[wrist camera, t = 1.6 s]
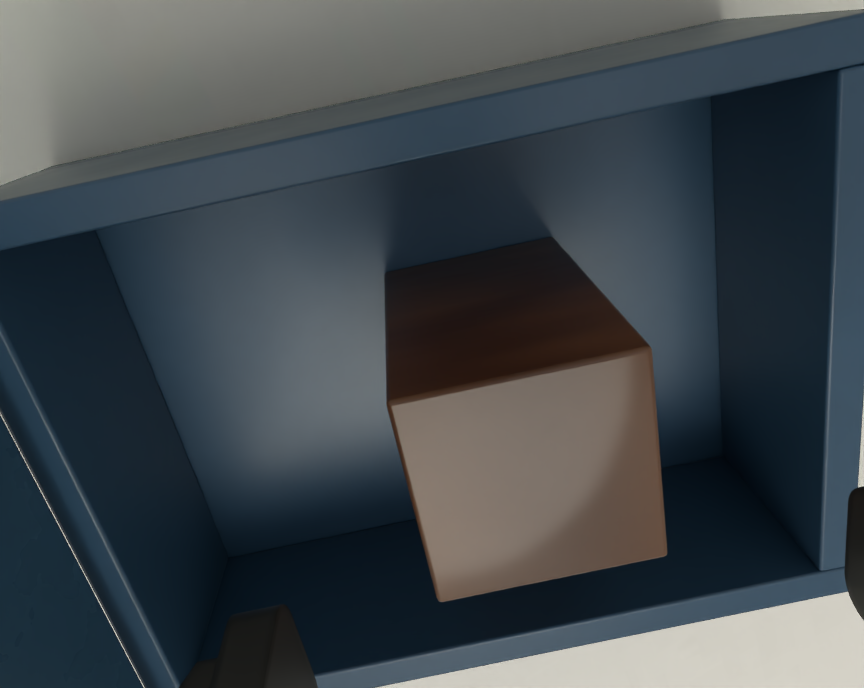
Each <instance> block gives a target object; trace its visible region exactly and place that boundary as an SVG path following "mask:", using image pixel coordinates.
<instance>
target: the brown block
mask: <svg viewBox="0 0 864 688" xmlns="http://www.w3.org/2000/svg"><path fill="white" fill-rule="evenodd" d="M384 286H385V352H386V406H387V410H388V413H389V417H390V421H391V425H392V429H393V433H394V437H395V440H396V444H397V448H398V452H399V456H400V460H401V463H402V467H403V471H404V475H405V479H406V483H407V487H408V490H409V494H410V498H411V502H412V506H413V510H414V513H415V517H416V521H417V525H418V529H419V533H420V536H421V540H422V544H423V548H424V552H425V556H426V560H427V563H428V567H429V571H430V575H431V579H432V583H433V586H434V590H435V594H436V598H437V599H438V601H439V602H445V601H450V600H455V599H460V598H465V597H469V596H474V595H479V594H484V593H489V592H494V591H499V590H504V589H508V588H513V587H518V586H523V585H528V584H533V583H538V582H543V581H547V580H552V579H557V578H562V577H567V576H572V575H577V574H582V573H586V572H591V571H596V570H601V569H606V568H611V567H616V566H621V565H625V564H630V563H635V562H640V561H645V560H650V559H655V558H660V557H664V556H666V555H667V538H666V525H665V512H664V499H663V486H662V473H661V460H660V447H659V434H658V421H657V408H656V395H655V382H654V369H653V356H652V348H651V347H650V345H649V344H648V343H647V342H646V341H645V340H644V338H643V337H642V336H641V335H640V334H639V333H638V332H637V331H636V329H635V328H634V327H633V326H632V325H631V324H630V323H629V322H628V321H627V319H626V318H625V317H624V316H623V315H622V314H621V313H620V312H619V310H618V309H617V308H616V307H615V306H614V305H613V304H612V303H611V301H610V300H609V299H608V298H607V297H606V296H605V295H604V294H603V293H602V291H601V290H600V289H599V288H598V287H597V286H596V285H595V284H594V282H593V281H592V280H591V279H590V278H589V277H588V276H587V275H586V273H585V272H584V271H583V270H582V269H581V268H580V267H579V266H578V265H577V263H576V262H575V261H574V260H573V259H572V258H571V257H570V256H569V254H568V253H567V252H566V251H565V250H564V249H563V248H562V247H561V246H560V244H559V243H558V242H557V241H556V240H555V239H554V238H553V237H549V238H544V239H540V240H535V241H530V242H526V243H521V244H516V245H512V246H507V247H502V248H498V249H493V250H488V251H484V252H479V253H474V254H470V255H465V256H460V257H456V258H451V259H446V260H441V261H437V262H432V263H427V264H423V265H418V266H413V267H409V268H404V269H399V270H395V271H390V272H387V273H385V276H384Z"/></svg>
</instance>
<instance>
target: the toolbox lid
mask: <svg viewBox="0 0 864 688" xmlns="http://www.w3.org/2000/svg"><path fill="white" fill-rule="evenodd" d="M0 688H143V686H142V684H141V682H140V680H139V678H138V676H137V675H136V673H135V671H134V669H133V667H132V665H131V663H130V661H129V659H128V657H127V656H126V654H125V652H124V650H123V648H122V646H121V644H120V642H119V640H118V638H117V637H116V635H115V633H114V631H113V629H112V627H111V625H110V623H109V621H108V619H107V618H106V616H105V614H104V612H103V610H102V608H101V606H100V604H99V602H98V600H97V598H96V597H95V595H94V593H93V591H92V589H91V587H90V585H89V583H88V581H87V579H86V578H85V576H84V574H83V572H82V570H81V568H80V566H79V564H78V562H77V560H76V559H75V557H74V555H73V553H72V551H71V549H70V547H69V545H68V543H67V541H66V540H65V538H64V536H63V534H62V532H61V530H60V528H59V526H58V524H57V522H56V521H55V519H54V517H53V515H52V513H51V511H50V509H49V507H48V505H47V503H46V501H45V500H44V498H43V496H42V494H41V492H40V490H39V488H38V486H37V484H36V482H35V481H34V479H33V477H32V475H31V473H30V471H29V469H28V467H27V465H26V463H25V462H24V460H23V458H22V456H21V454H20V452H19V450H18V448H17V446H16V444H15V443H14V441H13V439H12V437H11V435H10V433H9V431H8V429H7V427H6V425H5V423H4V422H3V420H2V418H1V416H0Z"/></svg>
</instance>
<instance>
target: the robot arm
mask: <svg viewBox="0 0 864 688" xmlns="http://www.w3.org/2000/svg"><path fill="white" fill-rule="evenodd" d="M844 572H845V581H846V586H847V589H848V592H849V595H850V598H851V600H852V602H853V604H854V606H855V608H856V610H857V611H858V613H859V614H860V616H861V617H862V619H863V620H864V487H859V488H855V489H854V490H852V491H851V493H850V495H849V498H848V511H847V530H846V550H845V569H844ZM179 688H318V686H317V682H316V679H315V676H314V673H313V670H312V668H311V665H310V662H309V660H308V657H307V654H306V652H305V649H304V646H303V644H302V641H301V638H300V636H299V633H298V630H297V627H296V625H295V622H294V619H293V617H292V614H291V612H290V610H289V608H288V607H287V606H286V605H285V604H281V605H276V606H271V607H266V608H262V609H257V610H252V611H247V612H242V613H237V614H233V615H231V617H230V618H229V620H228V622H227V625H226V628H225V632H224V635H223V639H222V643H221V646H220V650H219V654H218V658H213V659H208V660H203V661H198V662H197V663H196V664H195V665H194V667H193V668H192V670H191V671H190V672H189V674H188V675H187V677H186V678H185V679H184V681H183V682H182V684H181V685H180V686H179Z"/></svg>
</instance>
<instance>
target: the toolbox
mask: <svg viewBox="0 0 864 688" xmlns="http://www.w3.org/2000/svg"><path fill="white" fill-rule="evenodd" d="M549 237H553V238H554V239H555V240H556V241H557V242H558V243H559V244H560V246H561V247H562V248H563V249H564V250H565V251H566V252H567V253H568V254H569V256H570V257H571V258H572V259H573V260H574V261H575V262H576V263H577V265H578V266H579V267H580V268H581V269H582V270H583V271H584V272H585V273H586V275H587V276H588V277H589V278H590V279H591V280H592V281H593V282H594V284H595V285H596V286H597V287H598V288H599V289H600V290H601V291H602V293H603V294H604V295H605V296H606V297H607V298H608V299H609V300H610V301H611V303H612V304H613V305H614V306H615V307H616V308H617V309H618V310H619V312H620V313H621V314H622V315H623V316H624V317H625V318H626V319H627V321H628V322H629V323H630V324H631V325H632V326H633V327H634V328H635V329H636V331H637V332H638V333H639V334H640V335H641V336H642V337H643V338H644V340H645V341H646V342H647V343H648V344H649V345H650V347H651V348H652V356H653V369H654V382H655V395H656V408H657V421H658V434H659V447H660V460H661V473H662V486H663V499H664V512H665V525H666V538H667V555H666V556H664V557H660V558H655V559H650V560H645V561H640V562H635V563H630V564H625V565H621V566H616V567H611V568H606V569H601V570H596V571H591V572H586V573H582V574H577V575H572V576H567V577H562V578H557V579H552V580H547V581H543V582H538V583H533V584H528V585H523V586H518V587H513V588H508V589H504V590H499V591H494V592H489V593H484V594H479V595H474V596H469V597H465V598H460V599H455V600H450V601H445V602H439V601H438V599H437V598H436V594H435V590H434V586H433V583H432V579H431V575H430V571H429V567H428V563H427V560H426V556H425V552H424V548H423V544H422V540H421V536H420V533H419V529H418V525H417V521H416V517H415V513H414V510H413V506H412V502H411V498H410V494H409V490H408V487H407V483H406V479H405V475H404V471H403V467H402V463H401V460H400V456H399V452H398V448H397V444H396V440H395V437H394V433H393V429H392V425H391V421H390V417H389V413H388V410H387V406H386V352H385V286H384V276H385V273H387V272H390V271H395V270H399V269H404V268H409V267H413V266H418V265H423V264H427V263H432V262H437V261H441V260H446V259H451V258H456V257H460V256H465V255H470V254H474V253H479V252H484V251H488V250H493V249H498V248H502V247H507V246H512V245H516V244H521V243H526V242H530V241H535V240H540V239H544V238H549ZM863 396H864V9H861V10H847V11H834V12H820V13H806V14H792V15H779V16H765V17H751V18H739V19H724V20H720V21H715V22H710V23H706V24H701V25H697V26H692V27H688V28H683V29H678V30H674V31H669V32H665V33H660V34H655V35H651V36H646V37H642V38H637V39H633V40H628V41H623V42H619V43H614V44H610V45H605V46H601V47H596V48H591V49H587V50H582V51H578V52H573V53H569V54H564V55H559V56H555V57H550V58H546V59H541V60H537V61H532V62H527V63H523V64H518V65H514V66H509V67H505V68H500V69H495V70H491V71H486V72H482V73H477V74H473V75H468V76H463V77H459V78H454V79H450V80H445V81H440V82H436V83H431V84H427V85H422V86H418V87H413V88H408V89H404V90H399V91H395V92H390V93H386V94H381V95H376V96H372V97H367V98H363V99H358V100H354V101H349V102H344V103H340V104H335V105H331V106H326V107H322V108H317V109H312V110H308V111H303V112H299V113H294V114H290V115H285V116H280V117H276V118H271V119H267V120H262V121H258V122H253V123H248V124H244V125H239V126H235V127H230V128H225V129H221V130H216V131H212V132H207V133H203V134H198V135H193V136H189V137H184V138H180V139H175V140H171V141H166V142H161V143H157V144H152V145H148V146H143V147H139V148H134V149H129V150H125V151H120V152H116V153H111V154H107V155H102V156H97V157H93V158H88V159H84V160H79V161H75V162H70V163H65V164H61V165H56V166H52V167H49V168H47V169H44V170H41V171H39V172H36V173H33V174H31V175H28V176H25V177H22V178H20V179H17V180H14V181H12V182H9V183H6V184H4V185H1V186H0V412H1V414H2V416H3V418H4V420H5V422H6V424H7V426H8V428H9V429H10V431H11V433H12V435H13V437H14V439H15V441H16V443H17V445H18V447H19V448H20V450H21V452H22V454H23V456H24V458H25V460H26V462H27V464H28V466H29V468H30V469H31V471H32V473H33V475H34V477H35V479H36V481H37V483H38V485H39V487H40V489H41V490H42V492H43V494H44V496H45V498H46V500H47V502H48V504H49V506H50V508H51V510H52V511H53V513H54V515H55V517H56V519H57V521H58V523H59V525H60V527H61V529H62V530H63V532H64V534H65V536H66V538H67V540H68V542H69V544H70V546H71V548H72V550H73V551H74V553H75V555H76V557H77V559H78V561H79V563H80V565H81V567H82V569H83V571H84V572H85V574H86V576H87V578H88V580H89V582H90V584H91V586H92V588H93V590H94V592H95V593H96V595H97V597H98V599H99V601H100V603H101V605H102V607H103V609H104V611H105V612H106V614H107V616H108V618H109V620H110V622H111V624H112V626H113V628H114V630H115V632H116V633H117V635H118V637H119V639H120V641H121V643H122V645H123V647H124V649H125V651H126V653H127V654H128V656H129V658H130V660H131V662H132V664H133V666H134V668H135V670H136V672H137V674H138V675H139V677H140V679H141V681H142V683H143V685H144V687H145V688H179V686H180V685H181V684H182V682H183V681H184V679H185V678H186V677H187V675H188V674H189V672H190V671H191V670H192V668H193V667H194V665H195V664H196V663H197V662H198V661H203V660H208V659H213V658H218V654H219V650H220V646H221V643H222V639H223V635H224V632H225V628H226V625H227V622H228V620H229V618H230V617H231V615H233V614H237V613H242V612H247V611H252V610H257V609H262V608H266V607H271V606H276V605H281V604H285V605H286V606H287V607H288V608H289V610H290V612H291V614H292V617H293V619H294V622H295V625H296V627H297V630H298V633H299V636H300V638H301V641H302V644H303V646H304V649H305V652H306V654H307V657H308V660H309V662H310V665H311V668H312V670H313V673H314V676H315V679H316V682H317V686H318V688H375V687H380V686H385V685H390V684H395V683H400V682H405V681H410V680H415V679H420V678H424V677H429V676H434V675H439V674H444V673H449V672H454V671H459V670H464V669H469V668H474V667H479V666H484V665H488V664H493V663H498V662H503V661H508V660H513V659H518V658H523V657H528V656H533V655H538V654H543V653H547V652H552V651H557V650H562V649H567V648H572V647H577V646H582V645H587V644H592V643H597V642H602V641H607V640H611V639H616V638H621V637H626V636H631V635H636V634H641V633H646V632H651V631H656V630H661V629H666V628H670V627H675V626H680V625H685V624H690V623H695V622H700V621H705V620H710V619H715V618H720V617H725V616H729V615H734V614H739V613H744V612H749V611H754V610H759V609H764V608H769V607H774V606H779V605H784V604H789V603H793V602H798V601H803V600H808V599H813V598H818V597H823V596H828V595H833V594H838V593H843V592H848V589H847V586H846V581H845V572H844V569H845V550H846V530H847V511H848V498H849V495H850V493H851V491H852V490H854V489H855V488H858V475H859V459H860V443H861V427H862V412H863Z"/></svg>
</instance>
